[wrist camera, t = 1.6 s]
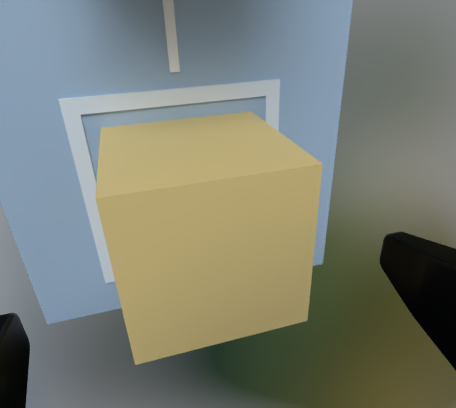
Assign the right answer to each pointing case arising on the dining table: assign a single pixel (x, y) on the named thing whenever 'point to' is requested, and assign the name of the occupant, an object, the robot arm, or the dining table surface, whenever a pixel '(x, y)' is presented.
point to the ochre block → (207, 229)
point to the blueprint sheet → (145, 109)
